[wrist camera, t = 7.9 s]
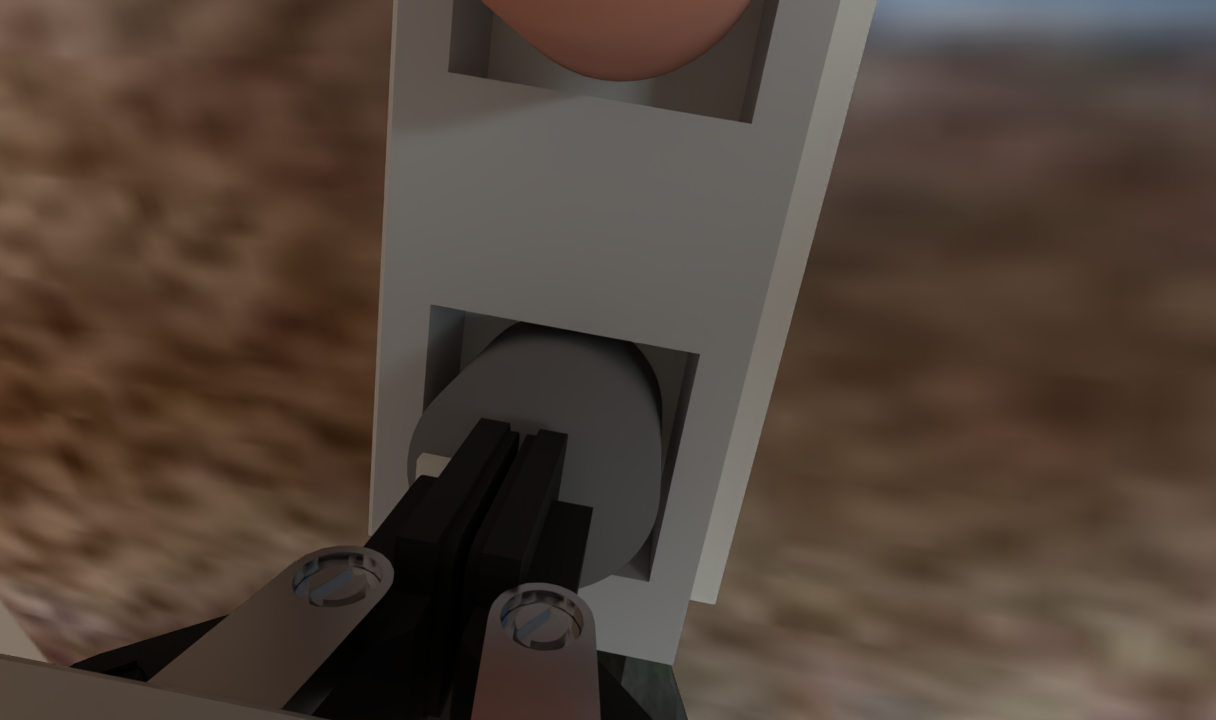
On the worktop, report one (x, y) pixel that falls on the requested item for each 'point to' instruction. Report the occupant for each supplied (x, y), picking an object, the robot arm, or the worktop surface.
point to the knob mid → (621, 32)
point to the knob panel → (611, 247)
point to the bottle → (636, 686)
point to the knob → (564, 426)
